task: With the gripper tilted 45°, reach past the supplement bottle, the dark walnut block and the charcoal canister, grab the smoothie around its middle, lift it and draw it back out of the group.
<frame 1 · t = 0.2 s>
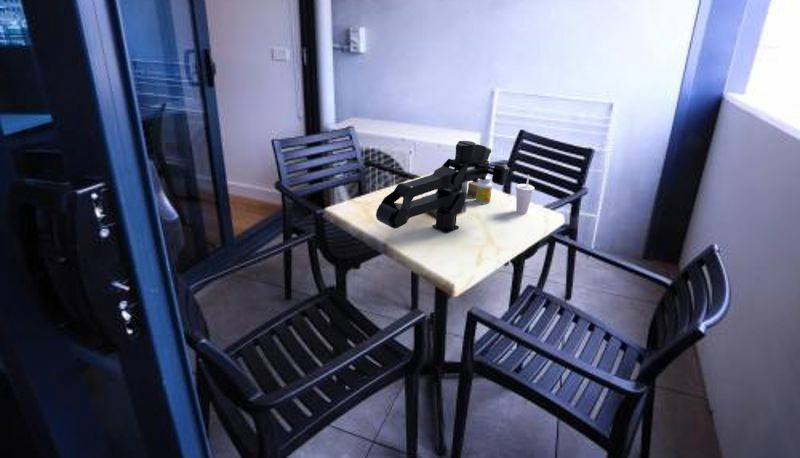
hand: (498, 165, 164), 16 cm above the table, tool horizontal, fingers open, 9 cm apart
supplement bottle: (482, 202, 178), on the table
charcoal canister: (459, 196, 182), on the table
walnut block: (477, 195, 184), on the table
smoothie: (521, 212, 170), on the table
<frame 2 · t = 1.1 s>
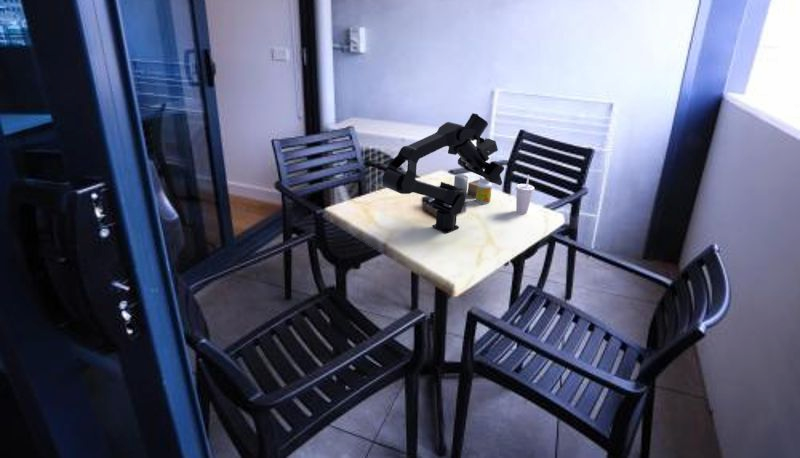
hand: (492, 179, 159), 14 cm above the table, tool tilted 45°, fingers open, 9 cm apart
nothing on the table moved.
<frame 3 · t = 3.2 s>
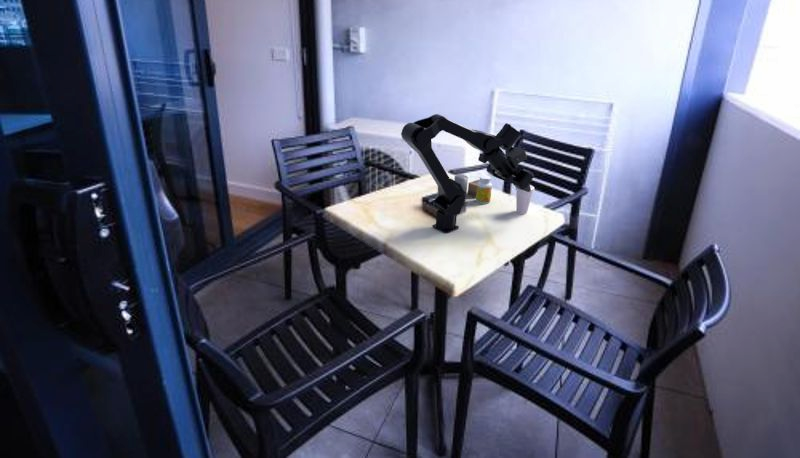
hand: (520, 186, 164), 10 cm above the table, tool tilted 45°, fingers open, 9 cm apart
nothing on the table moved.
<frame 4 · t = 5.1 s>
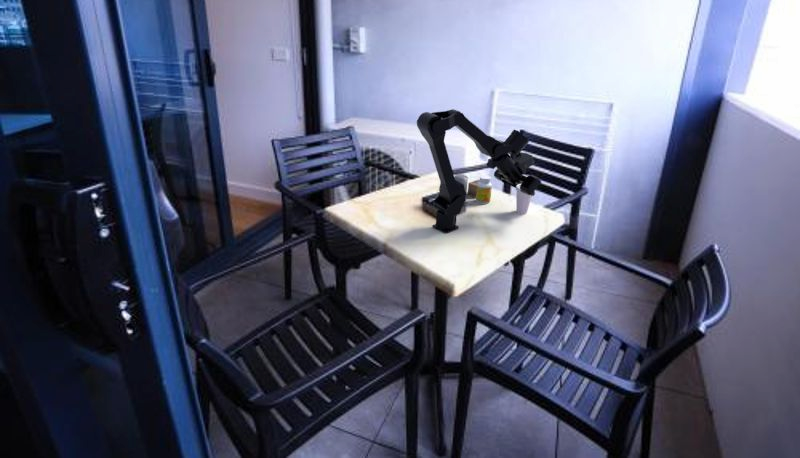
hand: (527, 191, 167), 8 cm above the table, tool tilted 45°, fingers closed on smoothie, 6 cm apart
smoothie: (521, 212, 170), on the table, touching gripper
everything else where it was.
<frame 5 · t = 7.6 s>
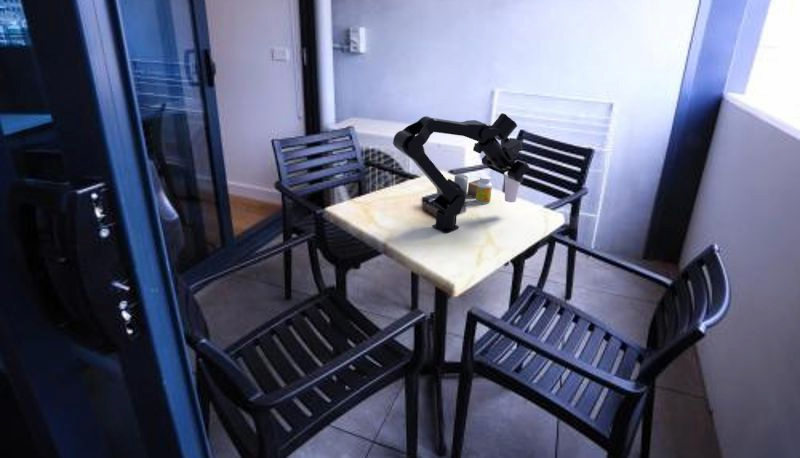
hand: (515, 178, 162), 13 cm above the table, tool tilted 45°, fingers closed on smoothie, 6 cm apart
smoothie: (510, 201, 164), point 5 cm above the table, touching gripper
everything else where it was.
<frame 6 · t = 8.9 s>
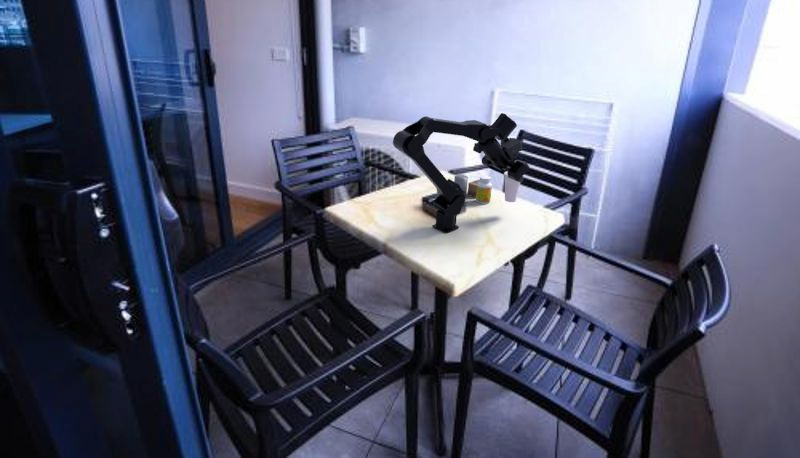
hand: (515, 178, 162), 13 cm above the table, tool tilted 45°, fingers closed on smoothie, 6 cm apart
smoothie: (510, 200, 164), point 5 cm above the table, touching gripper
everything else where it was.
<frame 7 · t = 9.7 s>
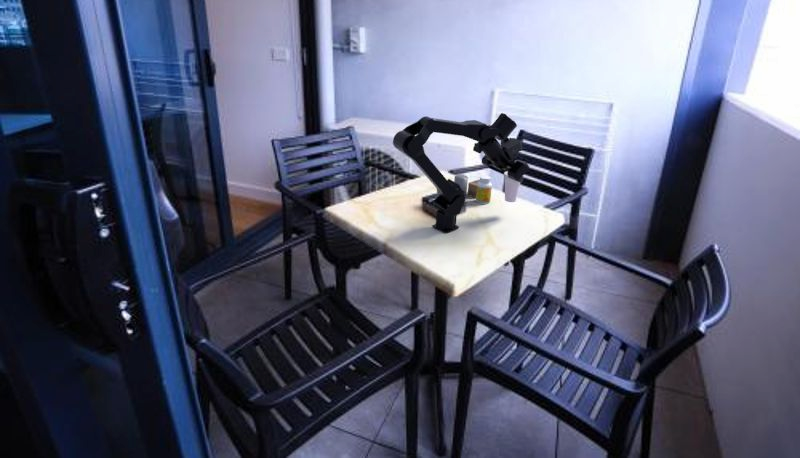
hand: (515, 178, 162), 13 cm above the table, tool tilted 45°, fingers closed on smoothie, 6 cm apart
smoothie: (510, 200, 164), point 5 cm above the table, touching gripper
everything else where it was.
at the end: the gripper is holding smoothie; smoothie point 5.5 cm above the table; smoothie tilted 1° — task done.
